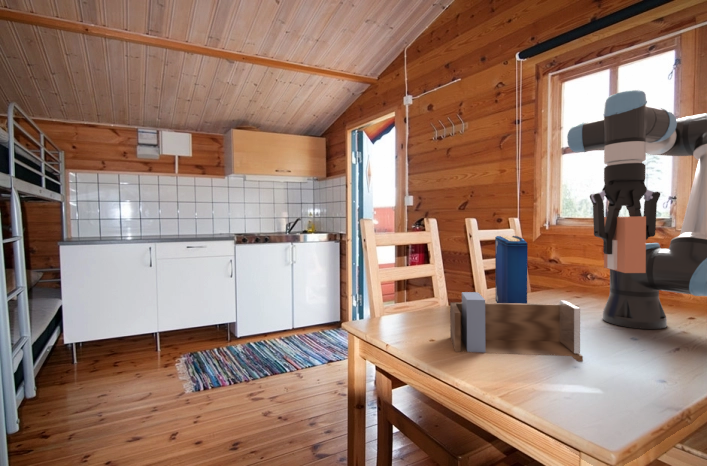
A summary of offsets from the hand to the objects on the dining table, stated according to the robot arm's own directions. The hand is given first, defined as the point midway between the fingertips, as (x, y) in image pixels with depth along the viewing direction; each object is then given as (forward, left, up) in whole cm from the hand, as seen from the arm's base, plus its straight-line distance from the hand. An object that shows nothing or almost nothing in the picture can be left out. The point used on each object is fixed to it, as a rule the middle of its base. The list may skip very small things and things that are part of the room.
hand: (623, 268), depth 86 cm
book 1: (+33, 0, -19) cm, 38 cm away
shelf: (+24, -1, -20) cm, 31 cm away
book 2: (+14, -42, -20) cm, 48 cm away
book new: (0, 0, 0) cm, 0 cm away
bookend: (+11, 0, -18) cm, 21 cm away
